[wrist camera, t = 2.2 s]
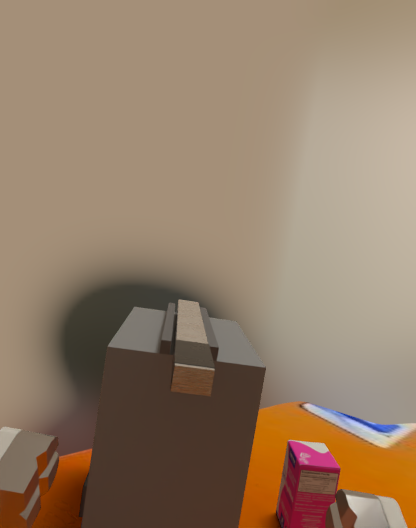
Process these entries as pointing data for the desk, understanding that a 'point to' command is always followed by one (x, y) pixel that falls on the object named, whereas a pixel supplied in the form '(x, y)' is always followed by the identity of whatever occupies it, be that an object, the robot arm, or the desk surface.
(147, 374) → the grey grooved block
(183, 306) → the bar
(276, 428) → the desk surface
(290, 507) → the supplement box
